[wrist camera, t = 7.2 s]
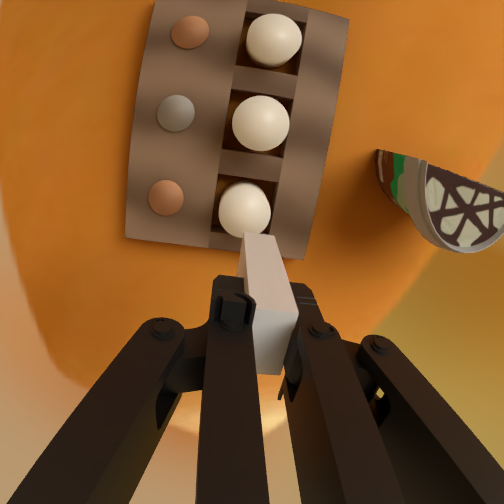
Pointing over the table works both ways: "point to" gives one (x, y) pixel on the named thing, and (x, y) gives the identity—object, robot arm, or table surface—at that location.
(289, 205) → the board
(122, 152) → the table surface
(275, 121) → the button mid
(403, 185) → the food container
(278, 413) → the table surface
